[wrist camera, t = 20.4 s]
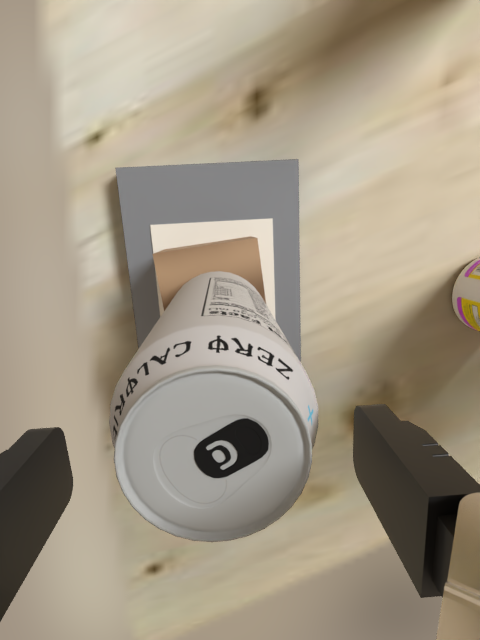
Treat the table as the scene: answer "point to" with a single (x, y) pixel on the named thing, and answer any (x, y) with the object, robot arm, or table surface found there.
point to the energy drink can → (214, 415)
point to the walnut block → (208, 264)
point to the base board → (214, 227)
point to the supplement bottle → (468, 295)
